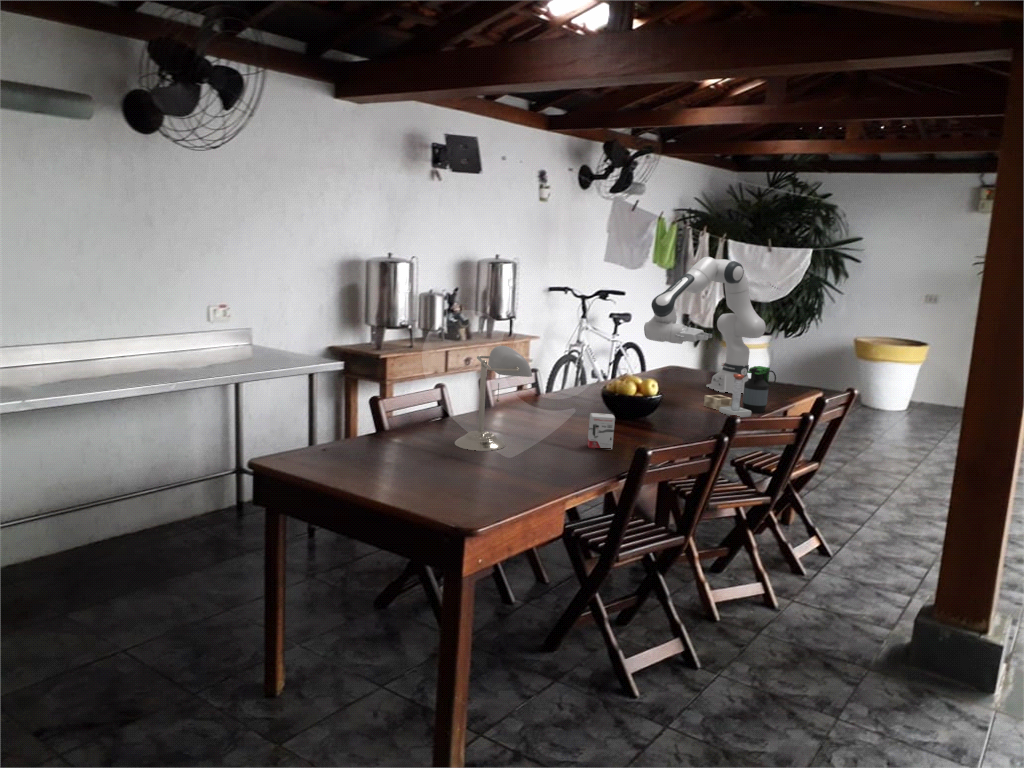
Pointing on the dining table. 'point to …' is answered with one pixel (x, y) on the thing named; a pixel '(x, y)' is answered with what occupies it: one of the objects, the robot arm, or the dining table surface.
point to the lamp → (505, 365)
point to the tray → (741, 412)
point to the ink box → (601, 430)
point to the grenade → (757, 389)
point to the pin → (737, 392)
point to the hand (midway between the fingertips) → (709, 337)
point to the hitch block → (717, 401)
